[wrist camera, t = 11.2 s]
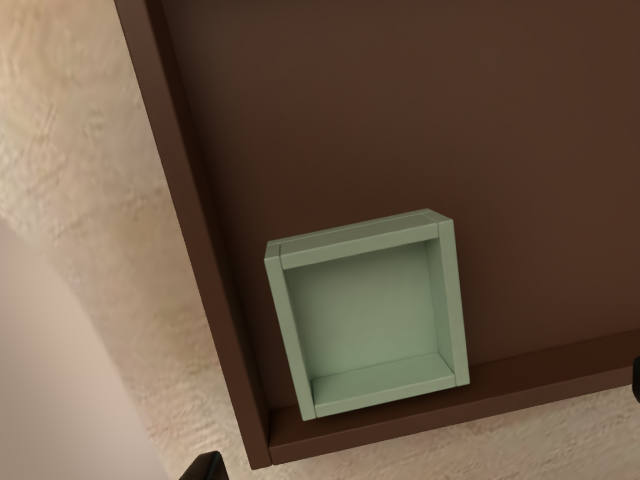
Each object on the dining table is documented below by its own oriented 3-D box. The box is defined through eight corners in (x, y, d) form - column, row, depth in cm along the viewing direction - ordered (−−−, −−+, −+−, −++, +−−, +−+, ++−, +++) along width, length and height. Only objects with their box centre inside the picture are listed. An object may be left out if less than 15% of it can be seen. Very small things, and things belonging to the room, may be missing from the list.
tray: (256, 422, 16) (251, 471, 14) (123, -56, 12) (81, -107, 9) (863, 286, 17) (957, 310, 15) (956, -202, 13) (1114, -283, 10)
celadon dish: (300, 383, 15) (302, 422, 13) (266, 241, 14) (263, 259, 12) (445, 351, 16) (470, 384, 14) (428, 207, 14) (453, 219, 12)
